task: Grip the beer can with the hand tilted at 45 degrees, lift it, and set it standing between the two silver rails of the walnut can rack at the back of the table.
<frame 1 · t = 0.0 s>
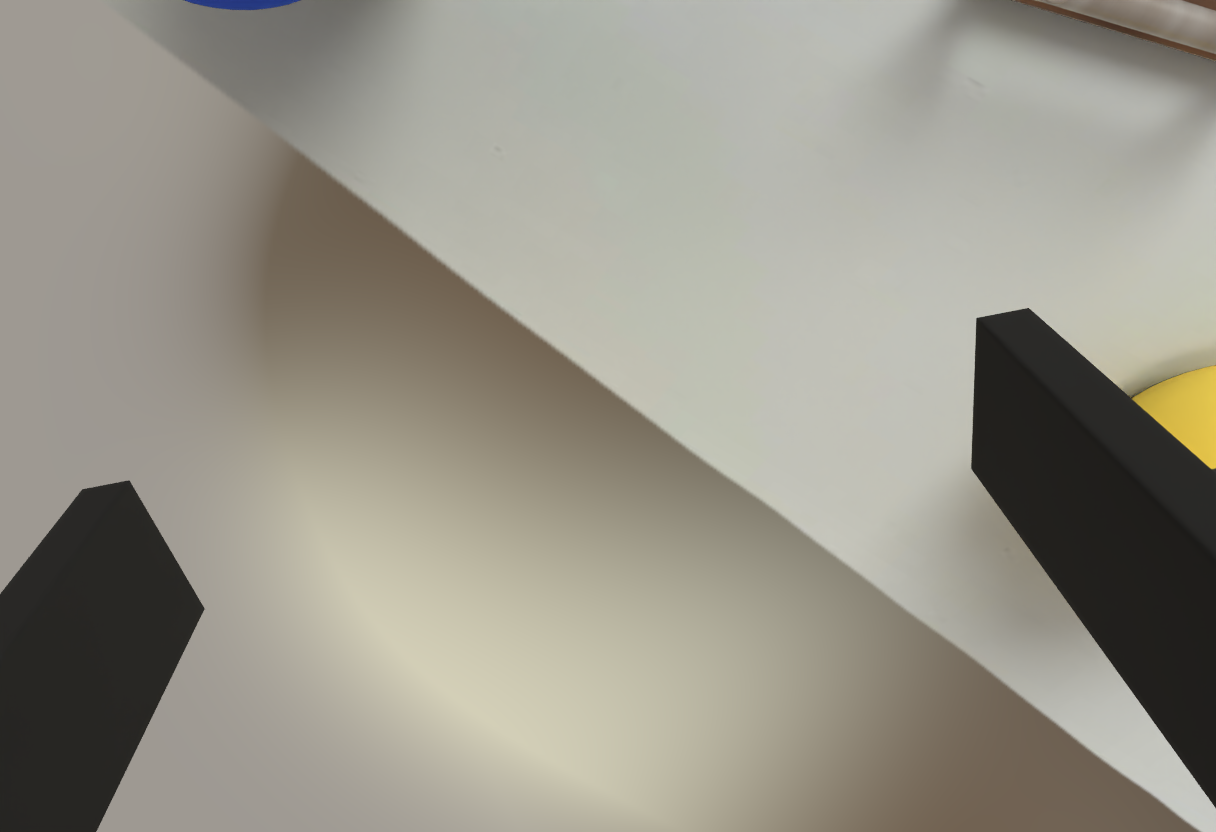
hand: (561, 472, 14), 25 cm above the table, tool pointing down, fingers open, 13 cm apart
teapot: (1206, 434, 45), on the table
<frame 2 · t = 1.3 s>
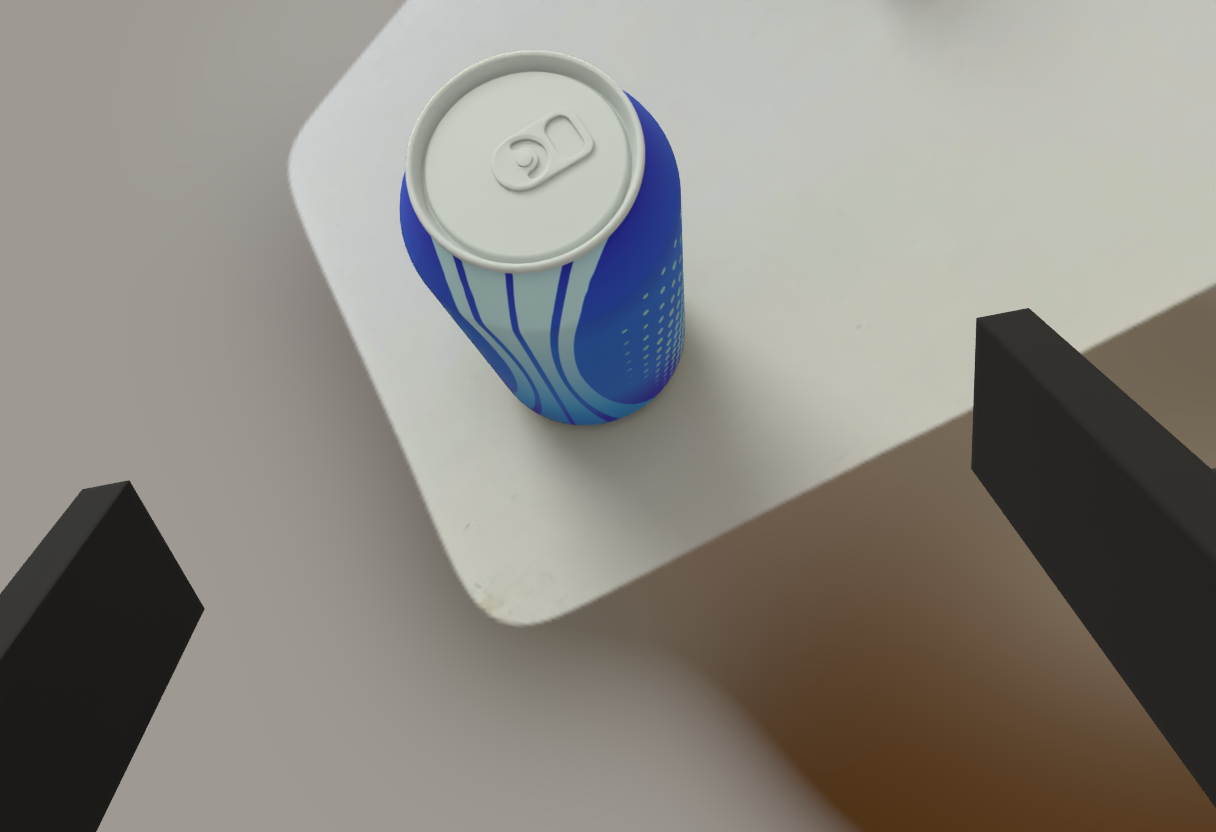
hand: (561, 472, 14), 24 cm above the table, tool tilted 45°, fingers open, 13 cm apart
beer can: (591, 341, 39), on the table
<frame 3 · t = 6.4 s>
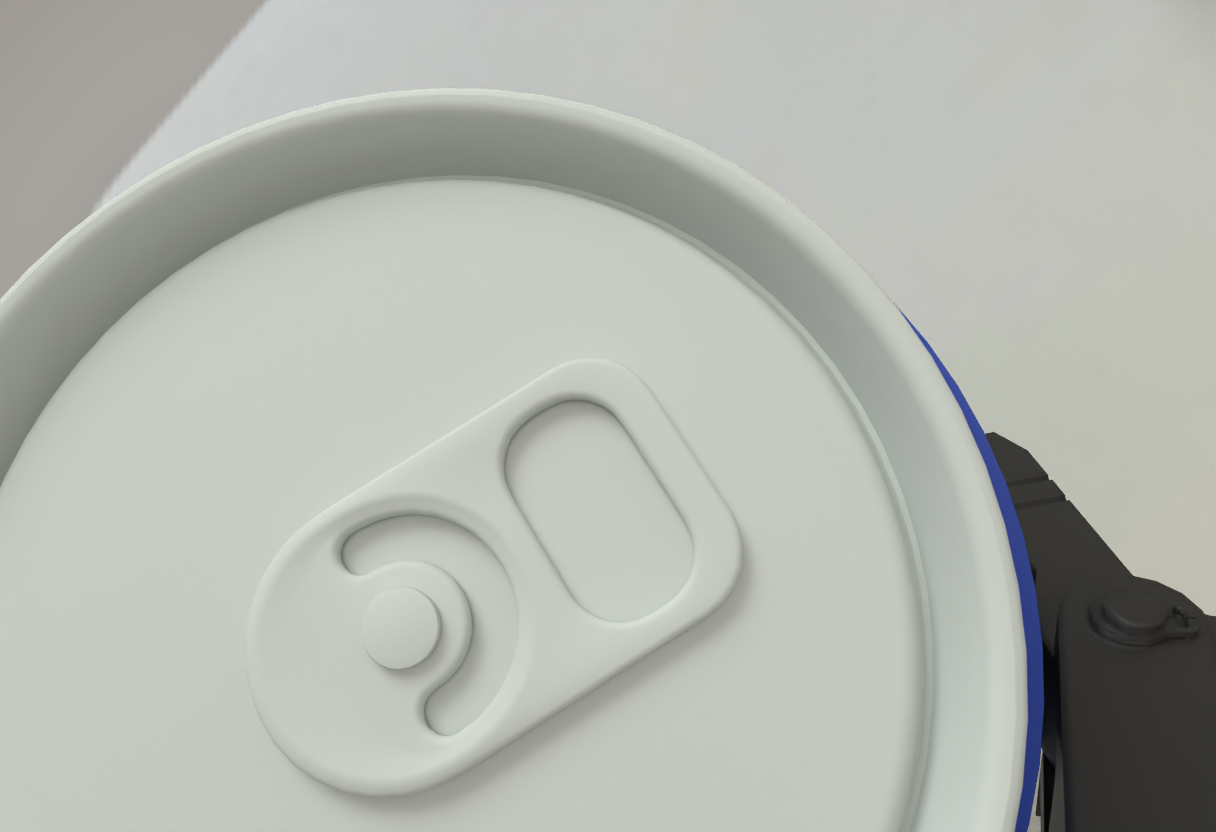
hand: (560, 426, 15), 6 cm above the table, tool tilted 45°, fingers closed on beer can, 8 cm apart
beer can: (623, 622, 20), on the table, touching gripper
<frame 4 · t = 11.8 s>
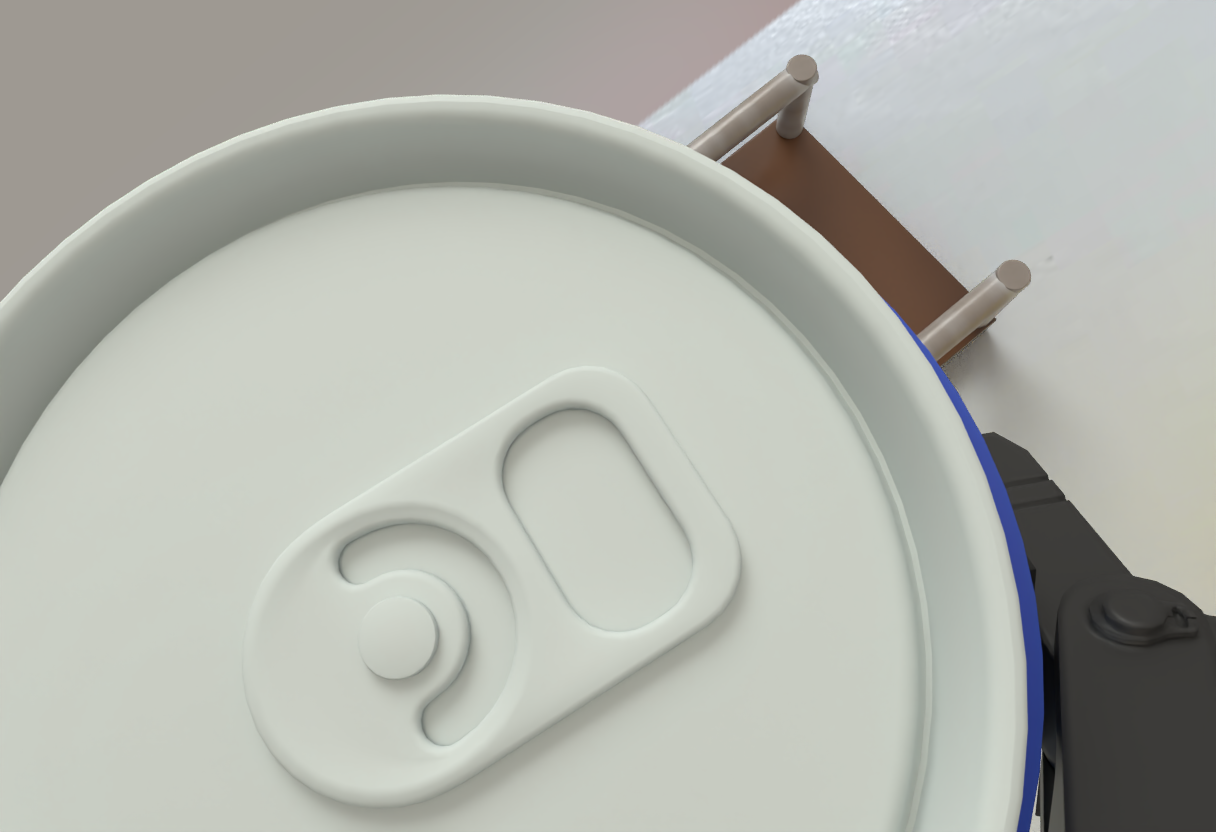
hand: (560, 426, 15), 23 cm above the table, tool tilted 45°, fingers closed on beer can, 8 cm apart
rail rack: (770, 312, 38), on the table
beer can: (623, 624, 20), point 16 cm above the table, touching gripper
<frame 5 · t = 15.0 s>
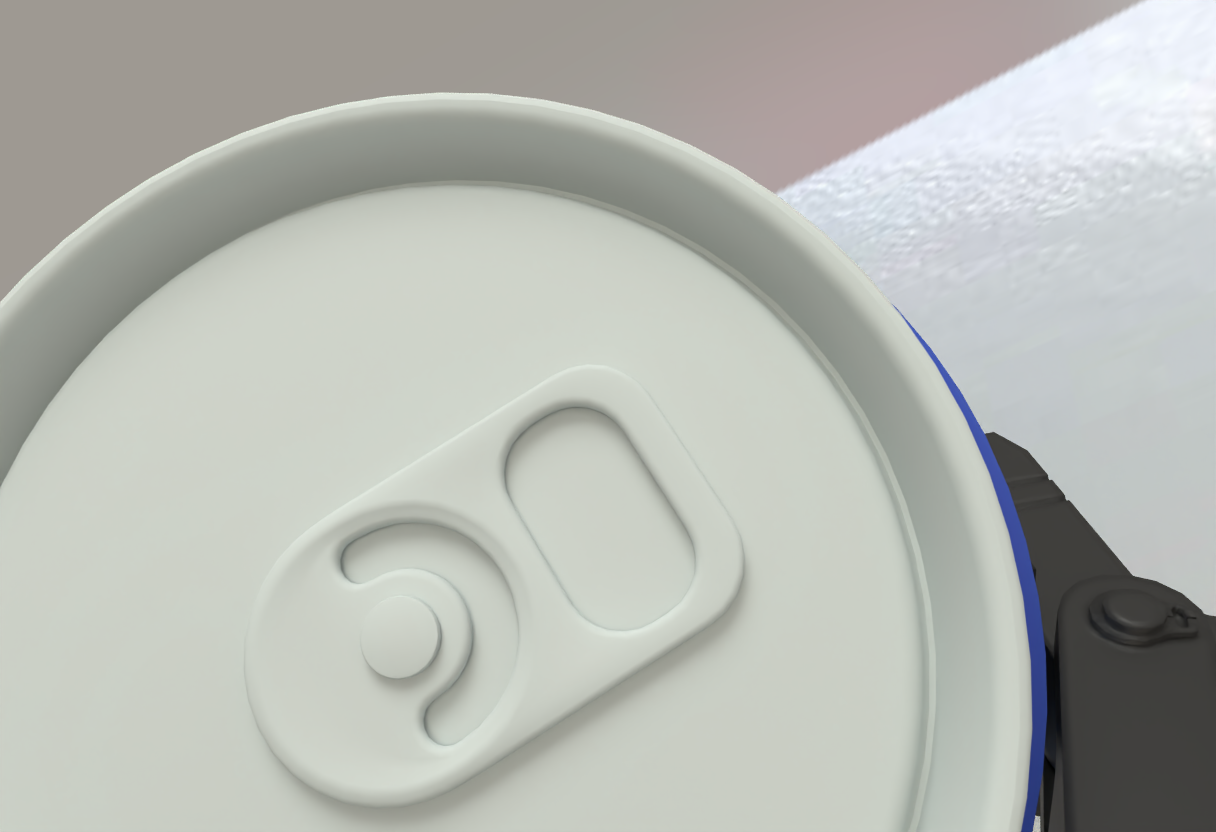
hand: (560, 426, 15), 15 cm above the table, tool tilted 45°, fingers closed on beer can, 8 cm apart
beer can: (623, 624, 20), point 9 cm above the table, touching gripper
when the fingers open (7 cm above the table, at t = 17.6 s): beer can stays where it is, resting on rail rack.
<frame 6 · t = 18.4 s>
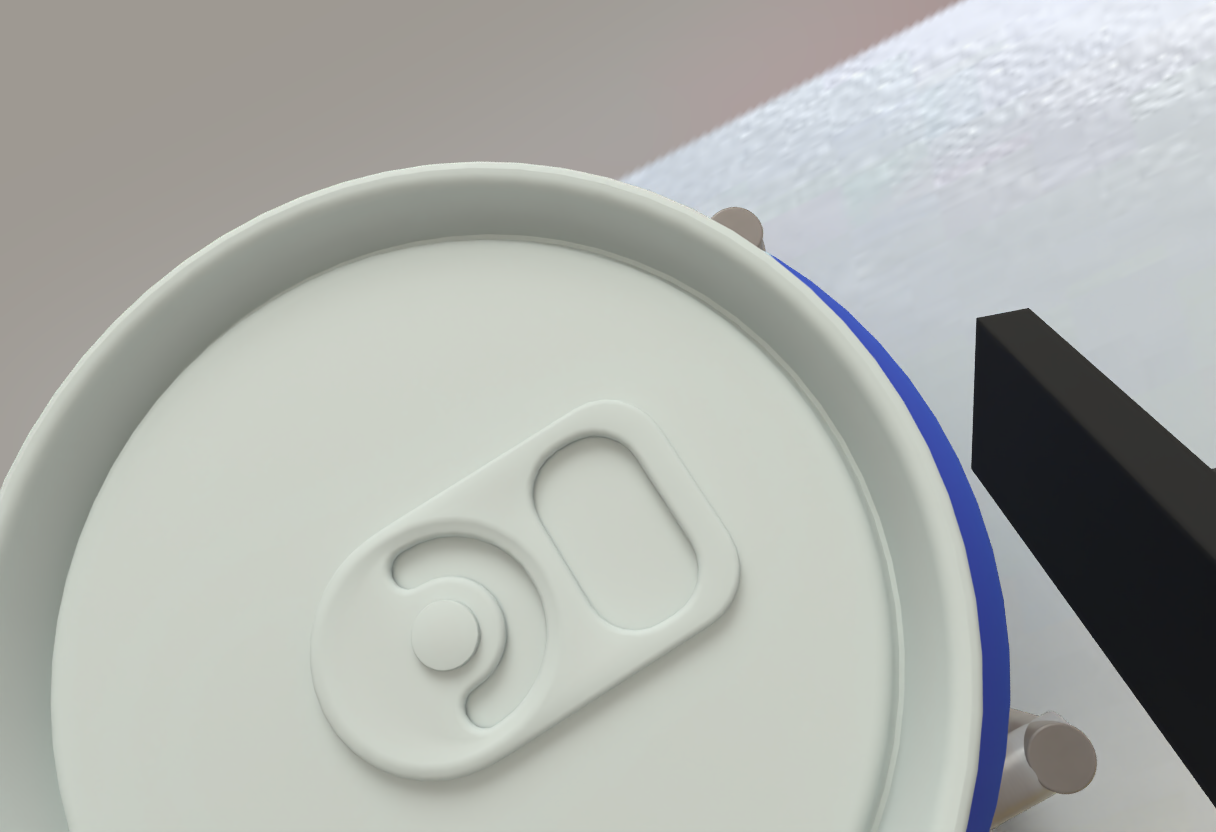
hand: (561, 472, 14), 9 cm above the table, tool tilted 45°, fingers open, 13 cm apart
rail rack: (630, 621, 22), on the table
beer can: (628, 625, 21), point 1 cm above the table, touching rail rack
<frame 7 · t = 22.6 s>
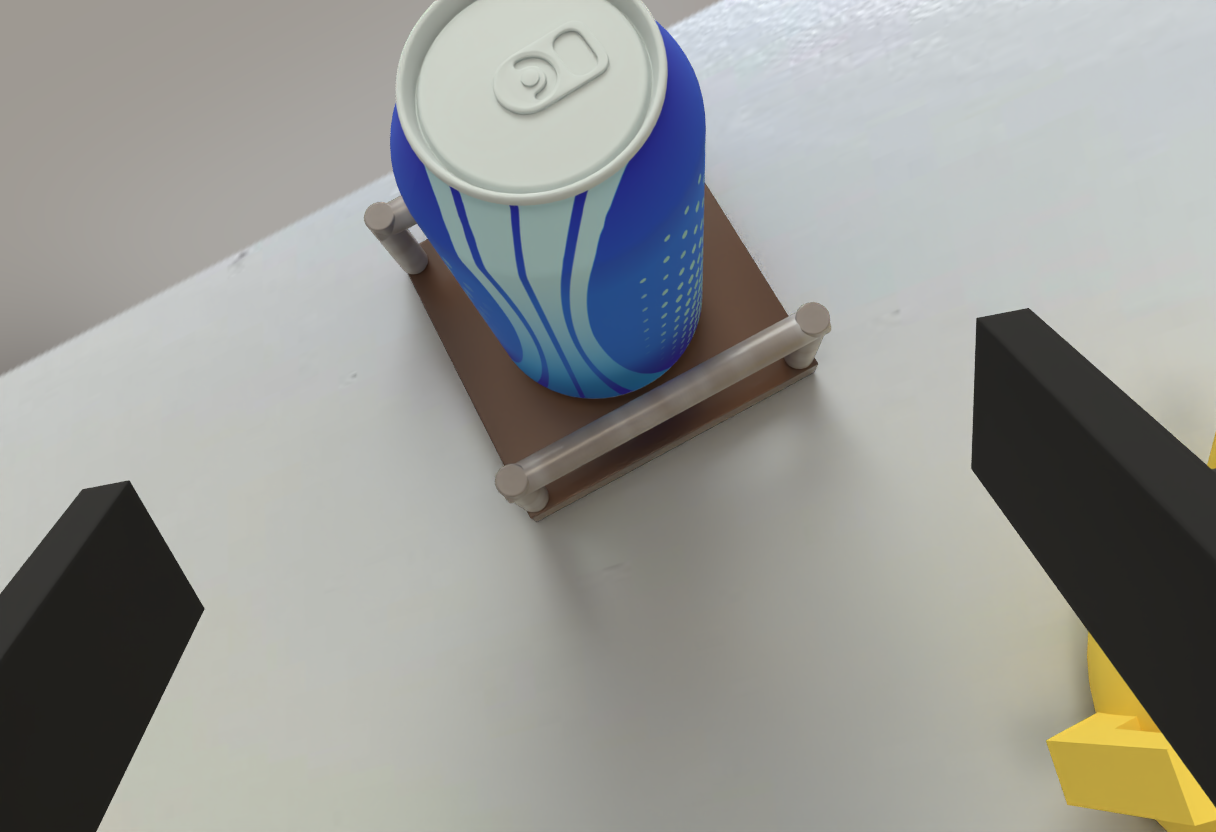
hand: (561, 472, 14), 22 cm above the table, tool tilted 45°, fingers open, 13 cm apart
rail rack: (602, 316, 37), on the table
beer can: (600, 310, 36), point 1 cm above the table, touching rail rack
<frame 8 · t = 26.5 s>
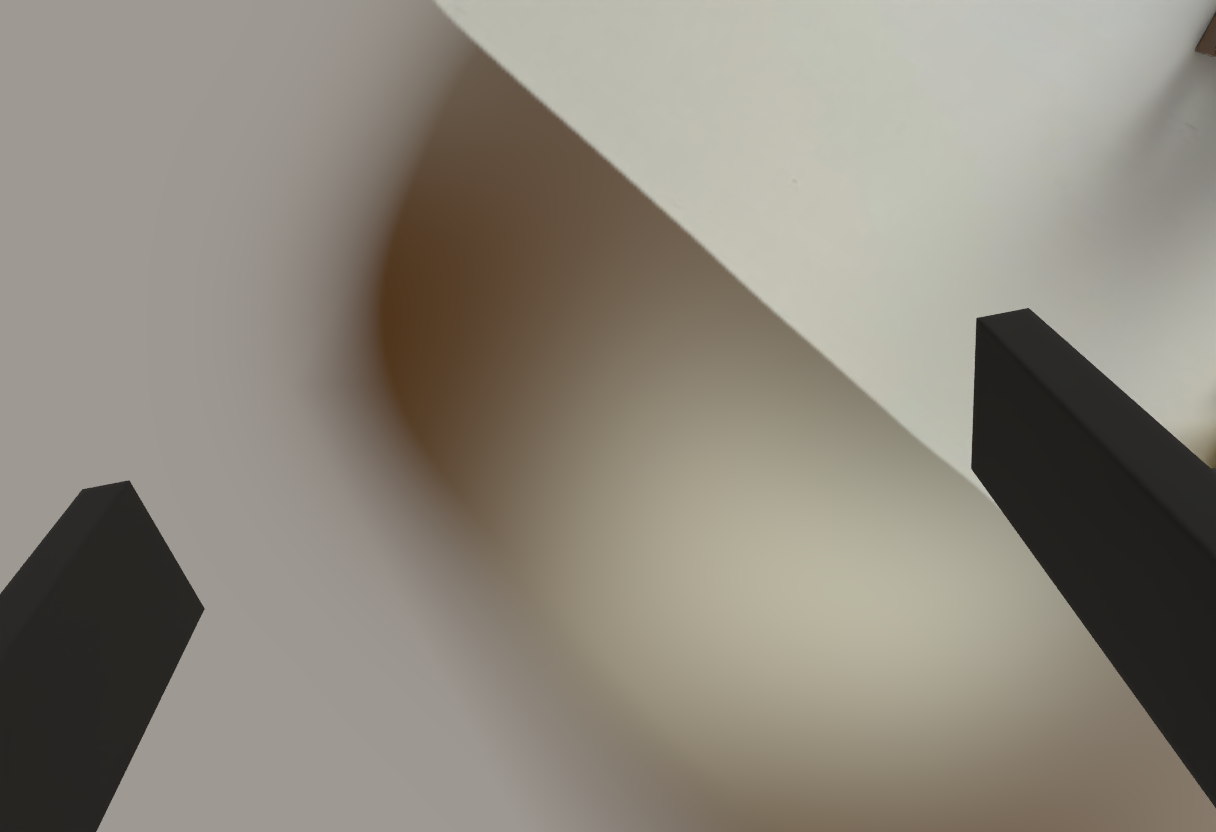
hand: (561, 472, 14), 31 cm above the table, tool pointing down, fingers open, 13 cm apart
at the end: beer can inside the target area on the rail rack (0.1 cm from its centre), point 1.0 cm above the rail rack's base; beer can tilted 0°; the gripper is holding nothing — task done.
